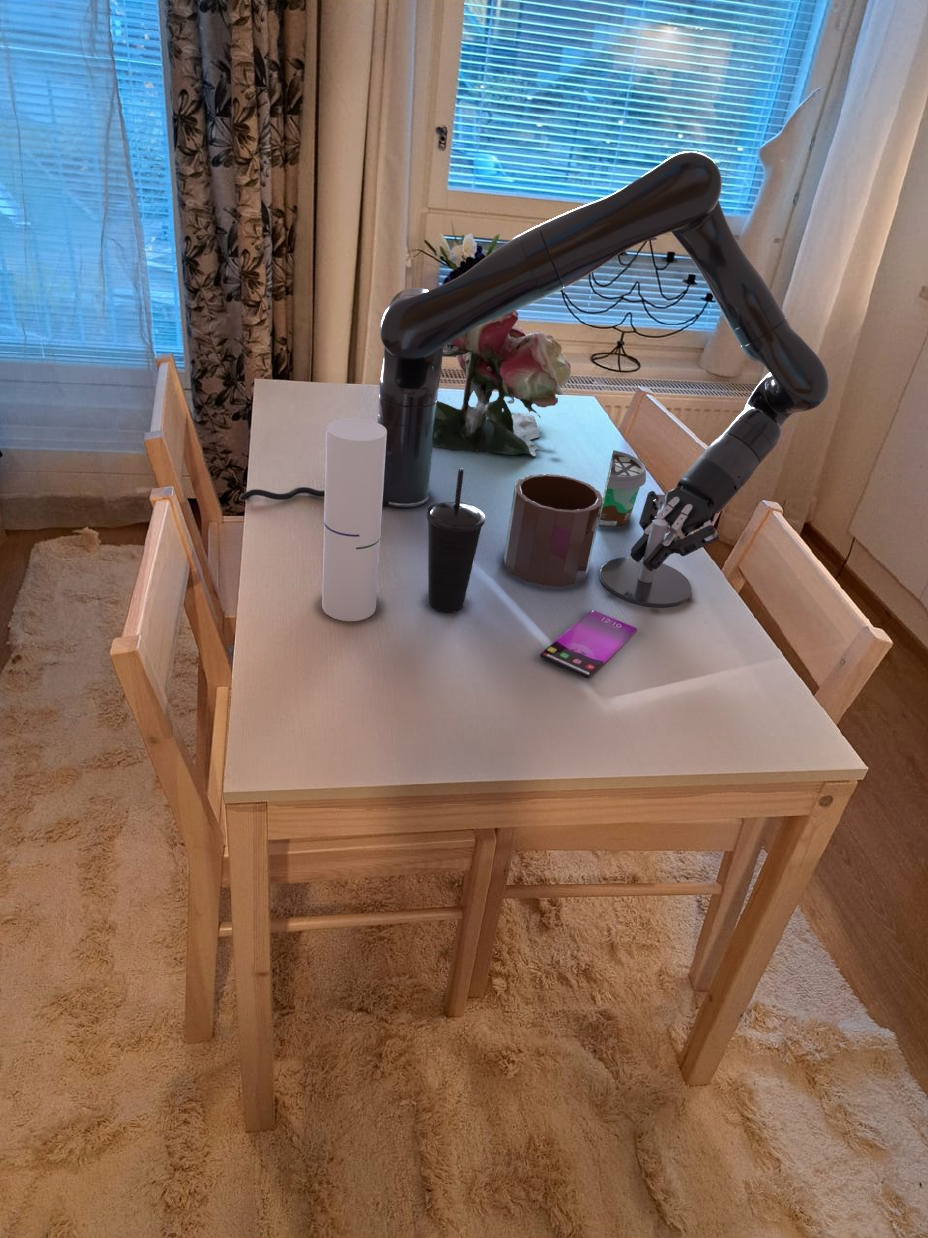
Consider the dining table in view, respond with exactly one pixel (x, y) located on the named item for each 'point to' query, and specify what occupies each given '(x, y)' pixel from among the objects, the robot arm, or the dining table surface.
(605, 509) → the food container
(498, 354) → the rose bouquet
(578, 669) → the smartphone
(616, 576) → the lid
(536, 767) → the dining table surface
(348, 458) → the cylindrical container
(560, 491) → the brown cylindrical pot
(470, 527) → the drinking cup
